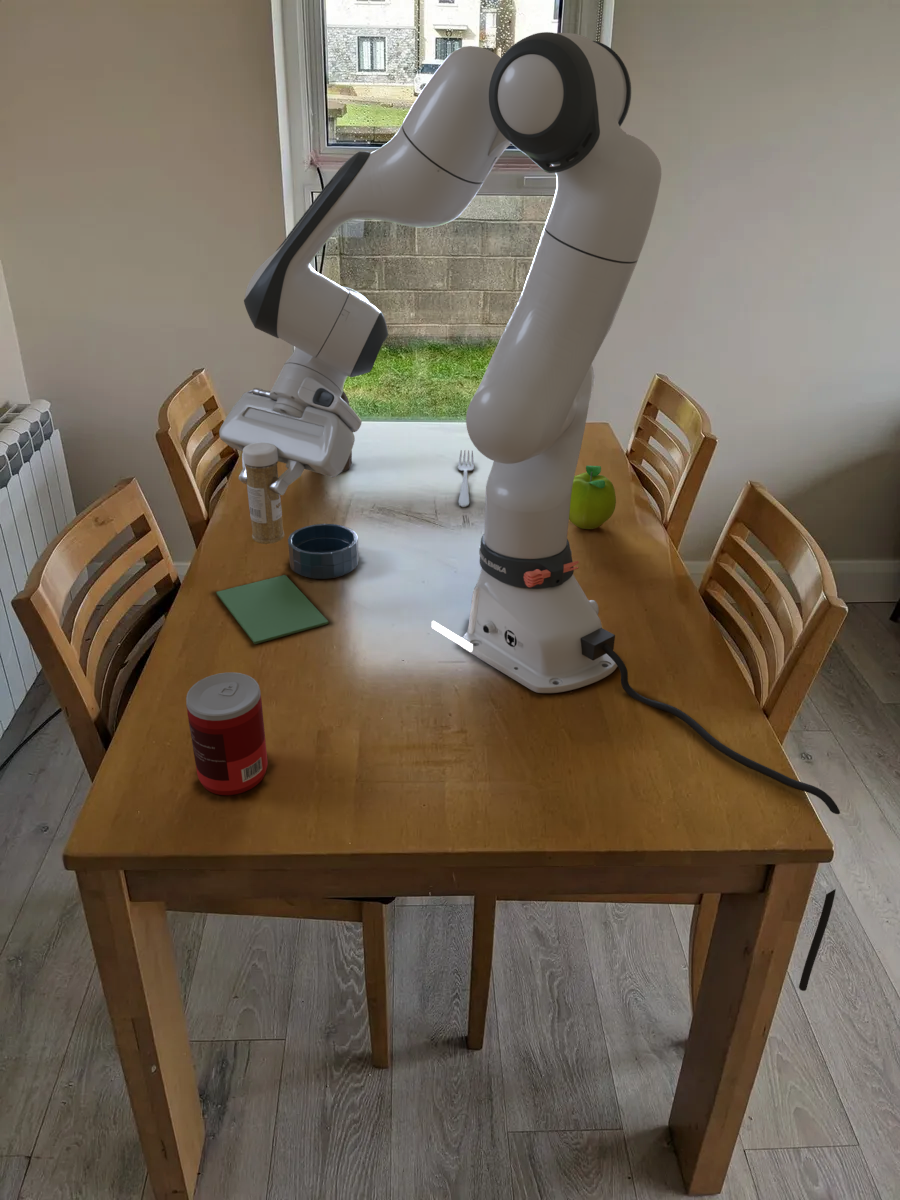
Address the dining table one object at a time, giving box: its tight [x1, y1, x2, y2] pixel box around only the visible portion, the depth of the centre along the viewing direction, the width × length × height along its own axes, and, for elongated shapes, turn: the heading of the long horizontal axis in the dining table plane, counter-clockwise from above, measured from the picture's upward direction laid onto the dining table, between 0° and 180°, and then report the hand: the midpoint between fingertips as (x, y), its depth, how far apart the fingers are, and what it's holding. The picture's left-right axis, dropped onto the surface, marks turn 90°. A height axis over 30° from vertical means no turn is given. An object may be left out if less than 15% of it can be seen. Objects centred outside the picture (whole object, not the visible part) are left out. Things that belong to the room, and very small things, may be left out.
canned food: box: [185, 672, 269, 796], centre depth 100 cm, size 8×8×11 cm
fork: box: [457, 449, 475, 508], centre depth 176 cm, size 3×24×2 cm, turn 178°
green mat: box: [215, 574, 329, 645], centre depth 134 cm, size 16×11×1 cm
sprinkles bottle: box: [242, 443, 285, 545], centre depth 126 cm, size 5×5×13 cm
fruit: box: [569, 465, 617, 530], centre depth 158 cm, size 9×9×10 cm
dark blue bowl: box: [287, 523, 360, 580], centre depth 145 cm, size 11×11×4 cm
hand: (260, 487), depth 125 cm, fingers closed on sprinkles bottle, 4 cm apart
